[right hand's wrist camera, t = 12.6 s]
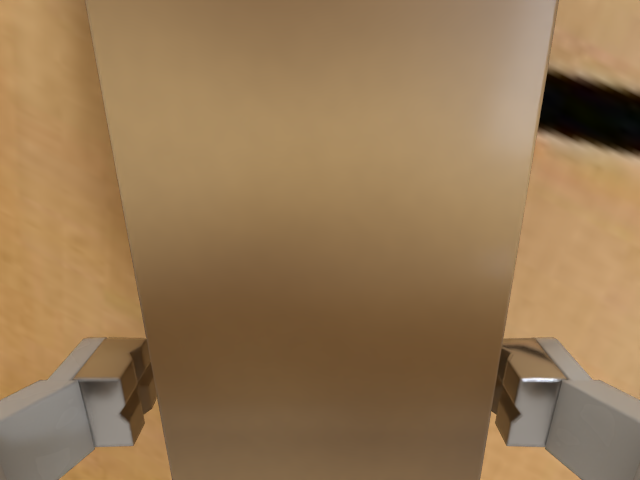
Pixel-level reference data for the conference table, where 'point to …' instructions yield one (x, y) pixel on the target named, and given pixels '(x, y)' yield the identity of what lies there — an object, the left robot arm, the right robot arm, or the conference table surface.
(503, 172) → the box
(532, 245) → the conference table surface
